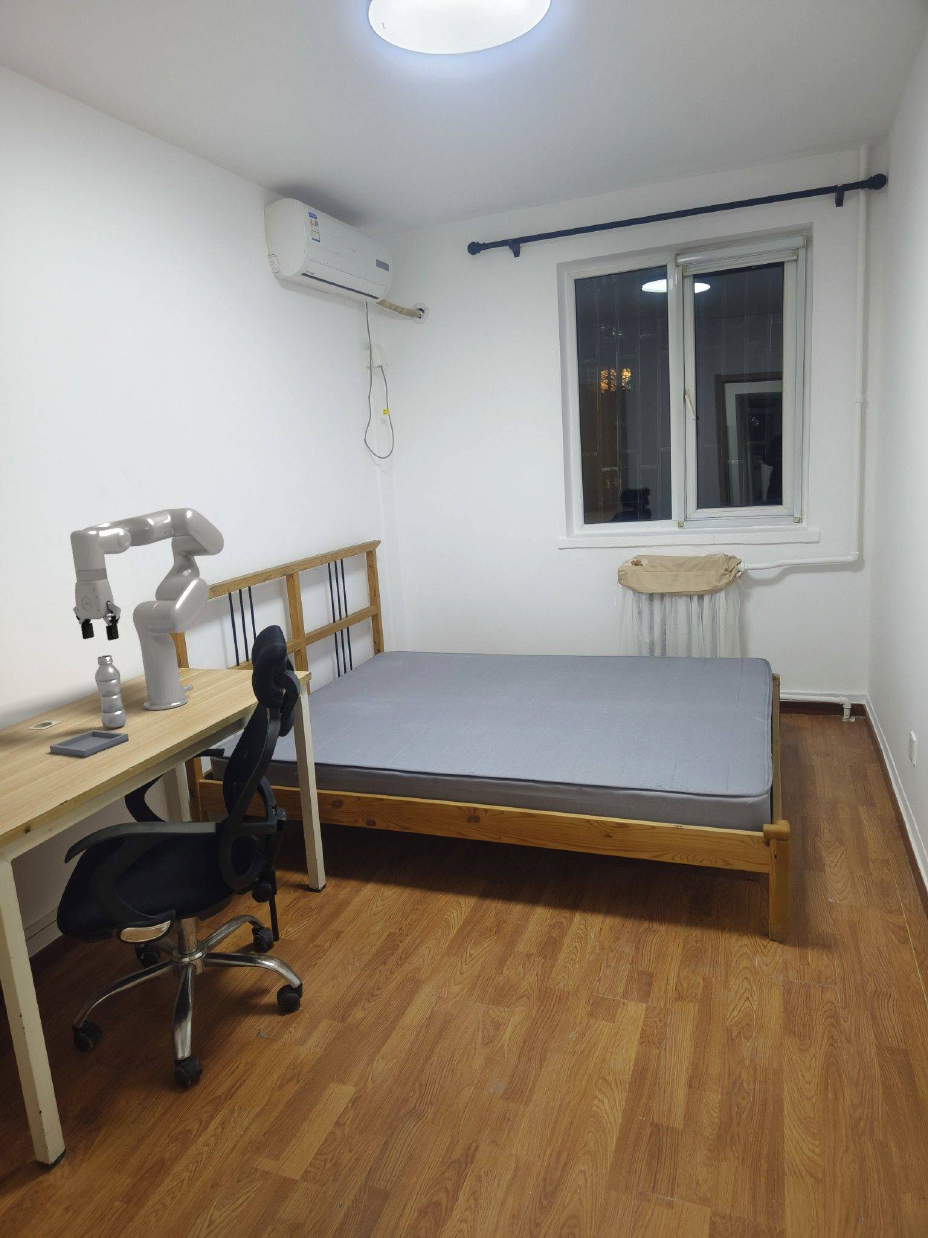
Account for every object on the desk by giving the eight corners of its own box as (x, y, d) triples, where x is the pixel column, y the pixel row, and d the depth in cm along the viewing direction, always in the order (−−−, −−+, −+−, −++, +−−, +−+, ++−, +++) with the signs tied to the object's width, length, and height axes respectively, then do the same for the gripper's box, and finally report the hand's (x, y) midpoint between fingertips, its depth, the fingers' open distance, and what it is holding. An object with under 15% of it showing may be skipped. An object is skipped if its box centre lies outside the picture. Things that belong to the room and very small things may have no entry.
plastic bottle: (100, 732, 213) (89, 660, 210) (104, 725, 220) (94, 655, 216) (126, 728, 215) (115, 657, 211) (129, 721, 221) (119, 652, 218)
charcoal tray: (94, 736, 210) (93, 729, 210) (128, 740, 205) (127, 734, 204) (50, 752, 199) (49, 746, 199) (85, 758, 193) (84, 751, 193)
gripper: (57, 578, 210) (67, 640, 213) (102, 577, 202) (111, 643, 205) (82, 574, 217) (91, 635, 220) (126, 574, 209) (134, 637, 212)
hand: (100, 638), depth 213 cm, fingers open, 9 cm apart
